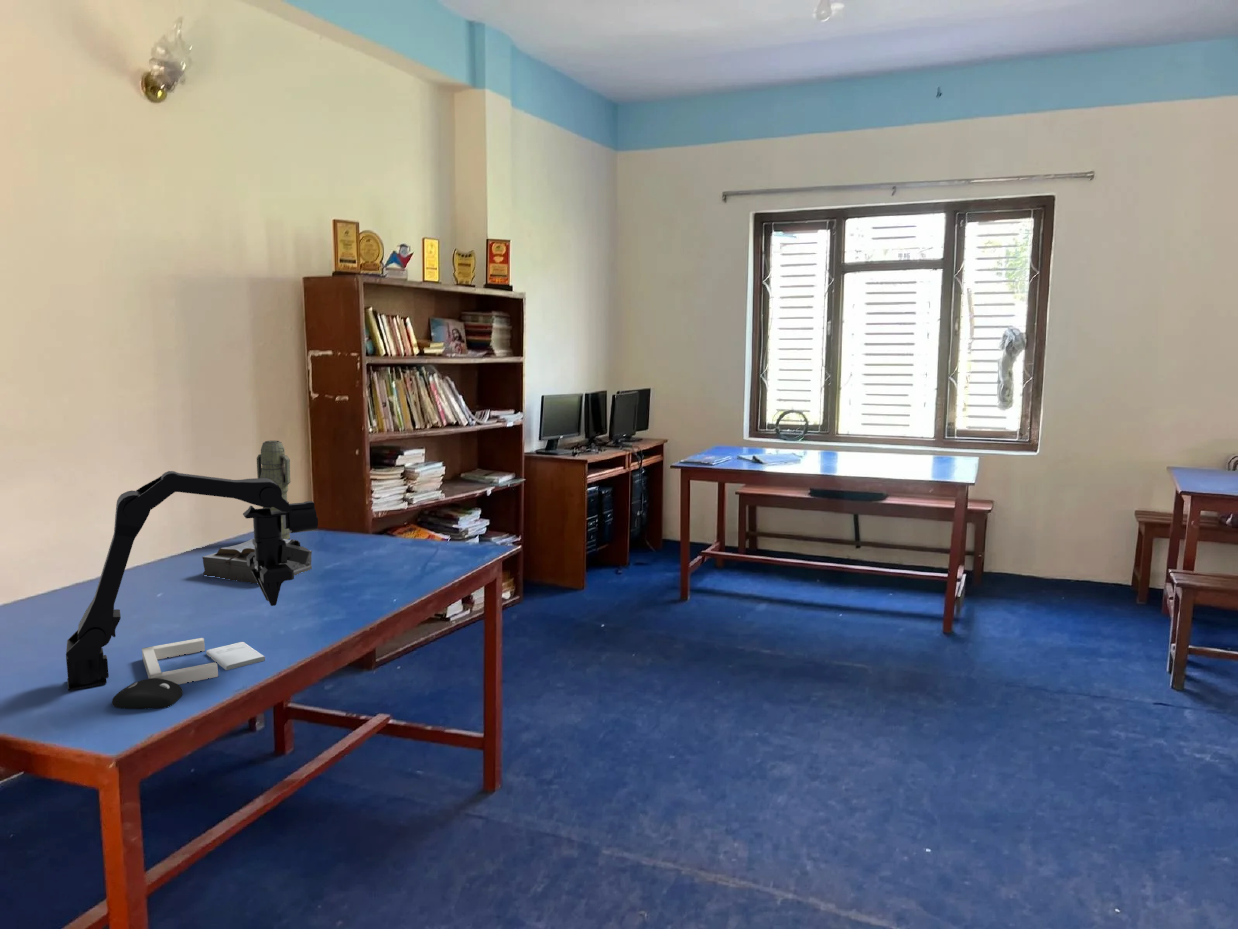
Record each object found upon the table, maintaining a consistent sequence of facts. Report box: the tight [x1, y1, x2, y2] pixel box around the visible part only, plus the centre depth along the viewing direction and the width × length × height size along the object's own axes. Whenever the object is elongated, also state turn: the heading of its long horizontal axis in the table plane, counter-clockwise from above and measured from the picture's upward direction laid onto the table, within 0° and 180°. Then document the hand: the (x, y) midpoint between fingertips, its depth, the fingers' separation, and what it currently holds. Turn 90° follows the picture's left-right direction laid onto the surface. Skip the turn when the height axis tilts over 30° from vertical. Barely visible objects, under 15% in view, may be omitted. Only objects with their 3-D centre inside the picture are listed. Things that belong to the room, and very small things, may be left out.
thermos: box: [256, 440, 291, 540], centre depth 282 cm, size 9×12×35 cm
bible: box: [201, 538, 313, 584], centre depth 243 cm, size 23×27×10 cm
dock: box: [141, 637, 219, 685], centre depth 172 cm, size 12×19×2 cm, turn 35°
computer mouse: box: [111, 678, 184, 710], centre depth 156 cm, size 8×12×4 cm, turn 95°
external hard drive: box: [205, 641, 266, 671], centre depth 179 cm, size 2×8×12 cm
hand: (271, 603), depth 182 cm, fingers open, 4 cm apart
